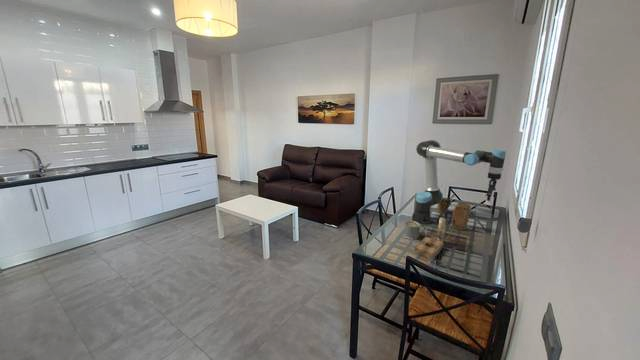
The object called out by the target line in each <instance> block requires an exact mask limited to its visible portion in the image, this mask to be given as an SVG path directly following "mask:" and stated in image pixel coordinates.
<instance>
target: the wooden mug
mask: <svg viewBox="0 0 640 360" xmlns="http://www.w3.org/2000/svg"><path fill="white" fill-rule="evenodd" d="M455 196H456V194H453V195H452V196H451V197H449V198H448V199H447V198H444V197H443V198H442V201H441V202H439V203H438V204H437V207H436V209H435V211H436V212H437V213H441V214H446V213H448V209H449V207H450V206H451V204H452V201H451V199H452V198H454V197H455Z"/></svg>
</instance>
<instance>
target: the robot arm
mask: <svg viewBox="0 0 640 360" xmlns="http://www.w3.org/2000/svg"><path fill="white" fill-rule="evenodd" d="M415 151H416V153H417V154H418V155H419V156H420V157H422V158H423V159H424V162H425V163H424V164H425V166H424V167H425V182H426V183H425V184H426V188H424V191H419V192H417V193H416V196H415V205H414V207H415V209H414V211H413V213H412V216H411V221H415V222H418V223H419V225H429V224H430V223H432V216H431V207H433V206H435V205H438V203H439V202H441V201H442V198H444V197H443V192H441V188H440V187H439V185H438V168H437V167H438V166H437V165H438V164H437V159H443V160H446V161H454V162H456V163H457V162H458V163H462V164H466V166H467V165H468V166H475V165H478V164H480V163H487V164H489V167H488V174H487V178H488V179H489V181H488V183H489V184H488V189H487V193H486V194H485V196H486V198H485V203H484V204H485V205H487V206H490V205H491V201H492V200H493V199H494V195H495V191H496V190H497V188H496V186H497V182H498V180H500V179H501V178H502V173H503V171H504V168H503V167H504V164H505V160H506V154H507V153H506V152H507V151H505V150H503V149H494V150H492V151H485V150H476V149H475V150H473V151H472V152H468V151H462V150H455V149H450V148H443V147H442V146H441V143H440V142H439V141H437V140H435V139H429V140H425V141H421V142H419V143H418V144H417V145H416V150H415Z"/></svg>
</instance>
